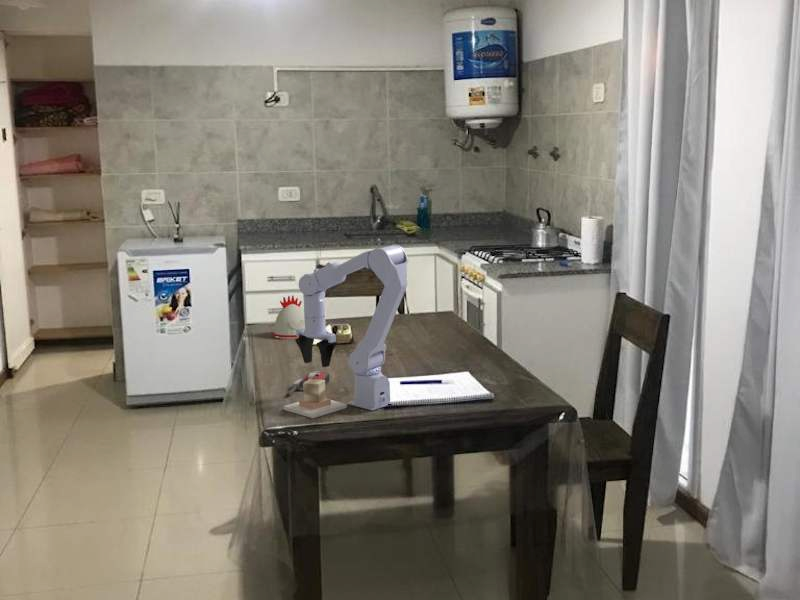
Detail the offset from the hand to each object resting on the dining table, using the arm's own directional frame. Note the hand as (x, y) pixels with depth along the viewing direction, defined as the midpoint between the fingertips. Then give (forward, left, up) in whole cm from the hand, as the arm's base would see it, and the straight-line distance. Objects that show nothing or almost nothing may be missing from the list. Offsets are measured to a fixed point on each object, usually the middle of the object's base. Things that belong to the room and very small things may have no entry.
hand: (316, 364), depth 258 cm
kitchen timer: (+71, -49, -10) cm, 87 cm away
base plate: (-8, +8, -9) cm, 15 cm away
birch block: (-8, +8, -7) cm, 13 cm away
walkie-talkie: (+10, -5, -10) cm, 15 cm away
